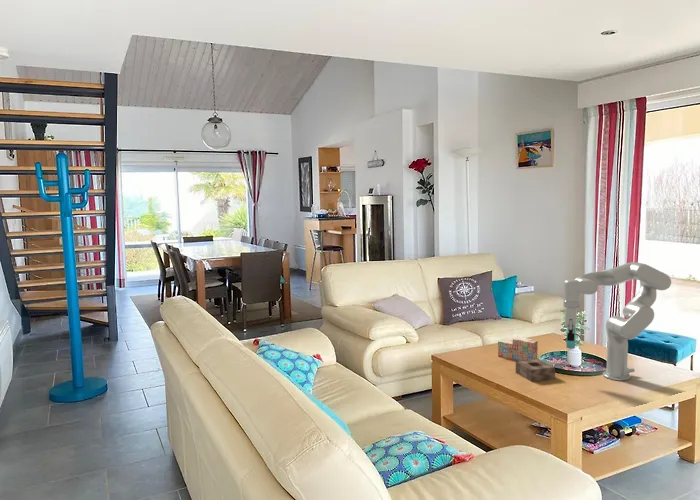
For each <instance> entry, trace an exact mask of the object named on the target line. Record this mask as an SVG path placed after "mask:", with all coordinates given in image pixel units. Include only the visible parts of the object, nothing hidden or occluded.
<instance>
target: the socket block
mask: <svg viewBox="0 0 700 500" xmlns="http://www.w3.org/2000/svg"><path fill="white" fill-rule="evenodd" d="M515 374H517V375H519V376H521V377H522V378H524V379H526V380H528V381H530V382H537V381H545V380H553V379H556V366H554V365H551V364H550V363H547V362H546V361H543V360H541V359H538V358H537V359H535V360H527V361H515Z"/></svg>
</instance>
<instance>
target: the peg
mask: <svg viewBox="0 0 700 500" xmlns="http://www.w3.org/2000/svg"><path fill="white" fill-rule="evenodd" d="M572 327H573V326H572ZM572 329H573V328H572ZM567 333H568V326H566V334H567ZM565 345H566V346H565V347H566V348H567V349H573V350H574V349H575V348H576V327H575V328H574V341H568V340H567V339H566V344H565Z"/></svg>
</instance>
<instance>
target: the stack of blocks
mask: <svg viewBox="0 0 700 500" xmlns="http://www.w3.org/2000/svg"><path fill="white" fill-rule="evenodd" d="M538 343H539V341H538V340H536V339H532V338H525V337H520V336H516V337H514V338H512V340H509V339H500V340H499V341H497V346H498V347H497V356H498V357H501V358H503V359H504V358H505V359H509V360H514V361H516V362H518V361H527V360H535V359H538Z"/></svg>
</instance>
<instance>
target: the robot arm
mask: <svg viewBox="0 0 700 500" xmlns="http://www.w3.org/2000/svg"><path fill="white" fill-rule="evenodd" d="M632 280H637V281H639V284H640V288H639V291H638V292H637V294H636V295H635V296H634V297H633V298H631V299H630V301H629V302H628V303H627V304H626V305H625V306H624V307H623V308H622V315H623V317H622V316H619V315H613V316H610V317H609V318H608V319H607V320H606V322H605V330H606V331H605V332H606V336H607V341H606V344H607V345H606V369H605V371H603V372H602V376H603V377H604V378H606V379H609V380H613V381H629V380H630V379H631V374H630V373H635V371H636V370H635V368H634V367H632V368H629V367H628V359H629V358H628V351H629V341H628V340H633V339H636V338H637V337H638V336H640V335H641V334H642V332H644V331H645V330H646V329H647V328H648V327H649V326H650V325H651V324H652V322H653V321H654V320H655V319H654V318H655V311H654V309H653V307H652V306H653V305H654V303H655V302H656V300H657V291H666V290H668V289H669V288H670V287H671V286H672V279H671V277H670V276H669V275H668V274H666V273H665V272H662V271H660V270H658V269H656V268H655V267H653V266H650V265H649V264H646V263H641V262H638V261H637V262H636V261H630V262H628V263H624V264H622V265H618V266H615V267H613V268H610V269H609V268H608V269H603V270H598V271H594V272H593V271H592V272H589V273H585V274H582V275H580V276H576V278H573V279H571V278H570V279H565V280H564V281H563V308H565V309H564V310H565V312H564V327H565V328H567V326H568V333H567V332H566V341H567V340H568V341H574V328H575V329H576V325H577V316H578V309H580V307H581V304H580V303H581V302H580V301H581V295H589V296H590V295H594V294H596V293H597V292H598V290H599V286H605V287H607V286H608V287H609V286H611V287H612V286H617V285H620V284H624V283H627V282H630V281H632ZM572 326H573V327H572ZM572 328H573V329H572Z"/></svg>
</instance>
